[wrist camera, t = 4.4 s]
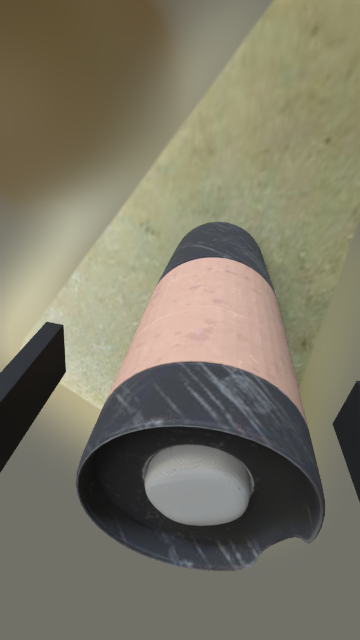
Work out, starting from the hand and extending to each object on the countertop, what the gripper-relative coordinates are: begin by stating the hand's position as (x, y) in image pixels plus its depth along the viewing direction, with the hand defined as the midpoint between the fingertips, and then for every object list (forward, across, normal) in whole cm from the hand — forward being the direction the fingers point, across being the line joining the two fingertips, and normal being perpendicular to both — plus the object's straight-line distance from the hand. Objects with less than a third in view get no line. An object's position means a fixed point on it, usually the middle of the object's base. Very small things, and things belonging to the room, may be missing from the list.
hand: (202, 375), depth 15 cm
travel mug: (+14, 0, 0) cm, 14 cm away
